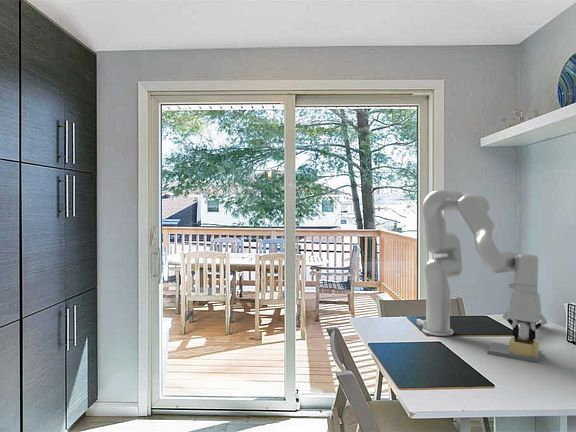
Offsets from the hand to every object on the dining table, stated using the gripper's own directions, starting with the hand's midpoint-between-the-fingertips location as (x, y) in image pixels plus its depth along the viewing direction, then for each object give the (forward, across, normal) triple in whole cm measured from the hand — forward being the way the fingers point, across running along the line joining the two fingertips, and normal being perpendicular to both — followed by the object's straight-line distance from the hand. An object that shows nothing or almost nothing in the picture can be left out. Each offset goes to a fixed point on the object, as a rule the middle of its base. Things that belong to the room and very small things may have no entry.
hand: (523, 338), depth 160 cm
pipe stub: (+3, 0, 0) cm, 3 cm away
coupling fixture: (+6, -3, 0) cm, 7 cm away
